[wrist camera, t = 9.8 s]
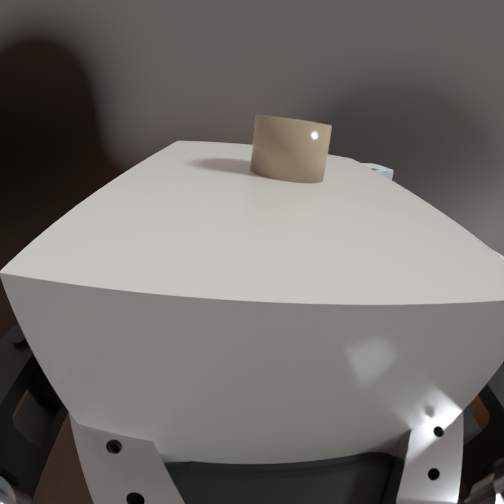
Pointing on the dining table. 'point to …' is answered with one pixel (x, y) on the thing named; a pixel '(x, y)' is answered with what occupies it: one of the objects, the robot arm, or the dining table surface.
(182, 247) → the ceramic cover
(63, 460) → the dining table surface
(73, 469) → the dining table surface
